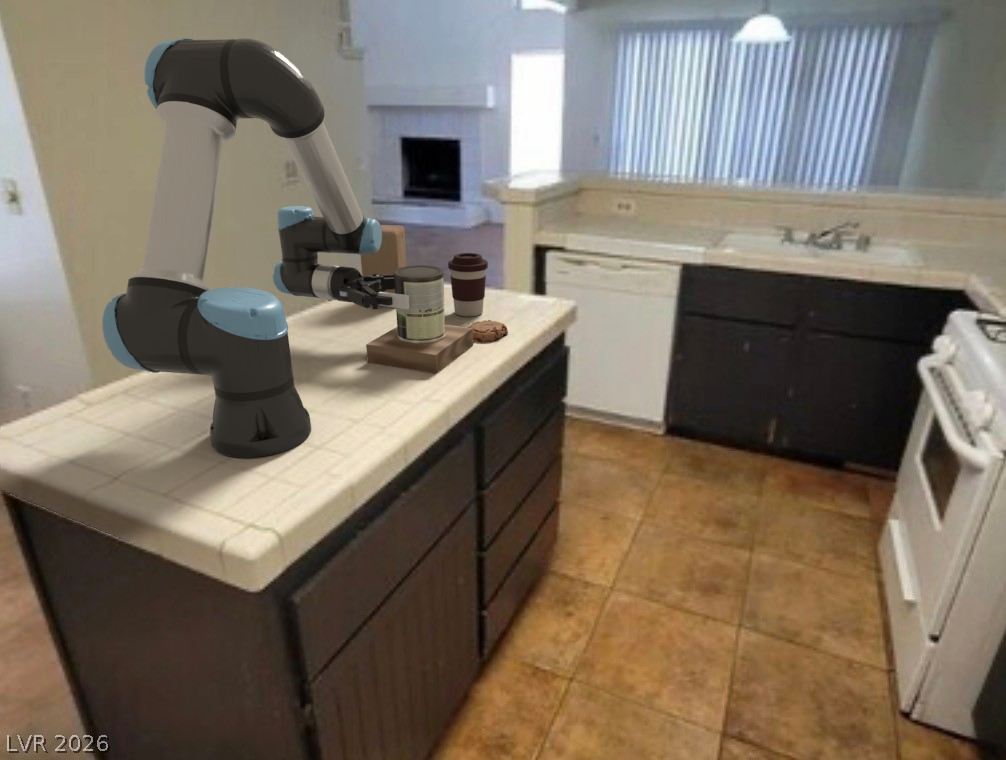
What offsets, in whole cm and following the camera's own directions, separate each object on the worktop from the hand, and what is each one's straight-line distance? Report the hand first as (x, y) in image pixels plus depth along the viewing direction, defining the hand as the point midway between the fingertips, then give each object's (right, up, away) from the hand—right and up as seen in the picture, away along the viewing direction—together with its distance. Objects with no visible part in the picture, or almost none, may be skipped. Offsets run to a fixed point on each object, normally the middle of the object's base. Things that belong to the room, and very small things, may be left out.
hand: (424, 293), depth 133 cm
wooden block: (-16, +3, +42) cm, 45 cm away
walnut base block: (-1, -12, +5) cm, 13 cm away
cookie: (+12, -8, +18) cm, 23 cm away
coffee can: (-1, -9, +4) cm, 10 cm away
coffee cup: (+7, -1, +33) cm, 34 cm away
